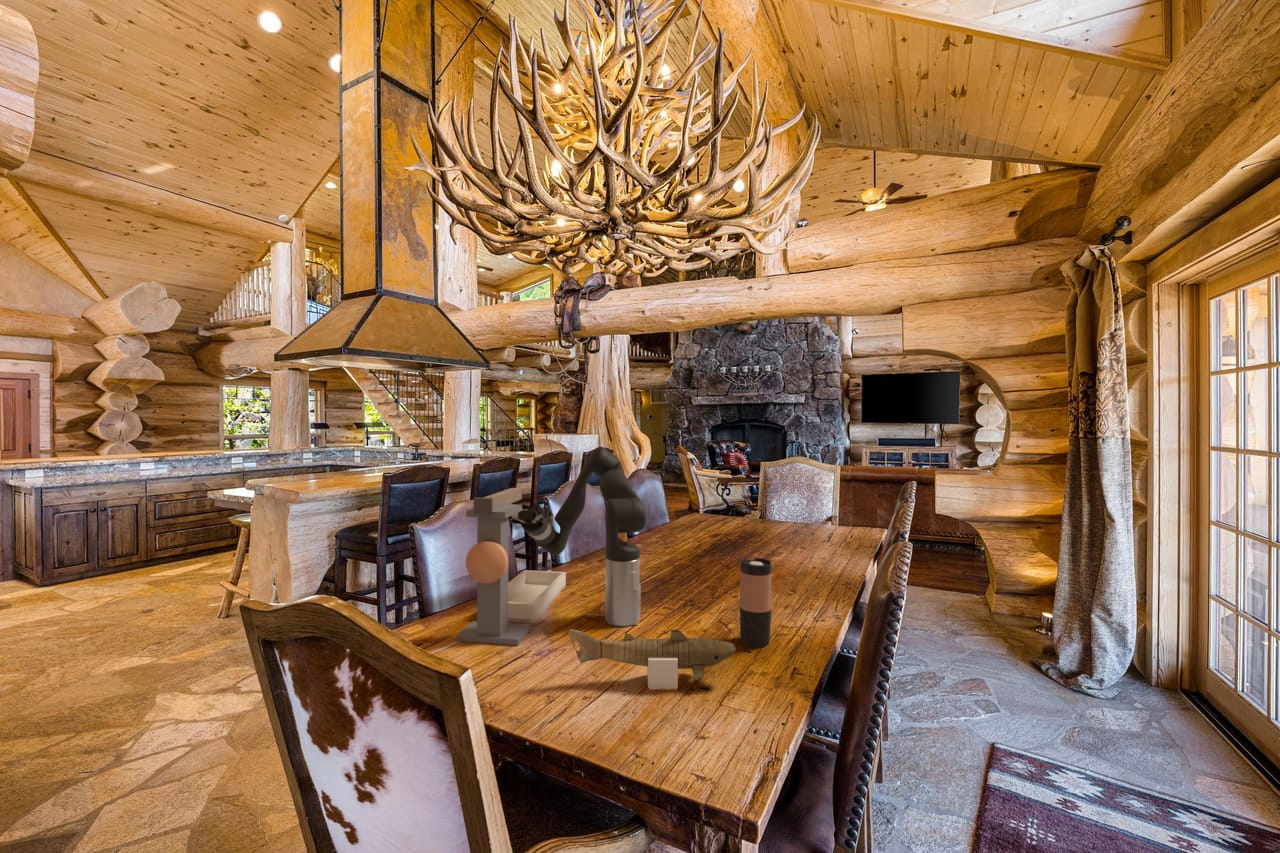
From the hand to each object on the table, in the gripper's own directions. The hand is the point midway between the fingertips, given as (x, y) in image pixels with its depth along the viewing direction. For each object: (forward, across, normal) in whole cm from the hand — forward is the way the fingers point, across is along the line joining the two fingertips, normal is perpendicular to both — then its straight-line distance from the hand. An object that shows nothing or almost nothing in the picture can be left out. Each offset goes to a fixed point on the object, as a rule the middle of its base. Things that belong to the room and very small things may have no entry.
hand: (520, 505), depth 149 cm
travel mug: (-7, +65, +31) cm, 72 cm away
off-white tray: (-22, 0, +22) cm, 31 cm away
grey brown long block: (+13, 0, +5) cm, 14 cm away
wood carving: (+14, +42, +43) cm, 62 cm away
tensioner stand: (-1, 0, +34) cm, 34 cm away
